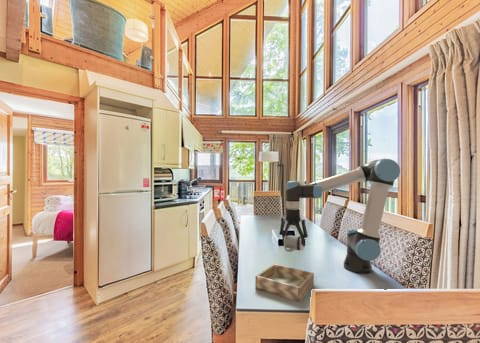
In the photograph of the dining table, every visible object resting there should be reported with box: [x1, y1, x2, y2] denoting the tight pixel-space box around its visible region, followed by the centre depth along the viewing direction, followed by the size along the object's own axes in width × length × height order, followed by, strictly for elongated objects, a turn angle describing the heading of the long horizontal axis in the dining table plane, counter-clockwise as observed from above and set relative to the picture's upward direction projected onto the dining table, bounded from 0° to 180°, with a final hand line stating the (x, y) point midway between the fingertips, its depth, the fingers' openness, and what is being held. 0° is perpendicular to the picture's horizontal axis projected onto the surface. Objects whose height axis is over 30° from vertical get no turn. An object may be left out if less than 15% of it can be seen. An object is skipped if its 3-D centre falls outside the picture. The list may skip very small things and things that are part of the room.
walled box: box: [254, 263, 315, 303], centre depth 122 cm, size 22×20×6 cm
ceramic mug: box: [284, 235, 301, 253], centre depth 140 cm, size 11×8×8 cm
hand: (293, 248), depth 141 cm, fingers closed on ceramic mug, 8 cm apart
